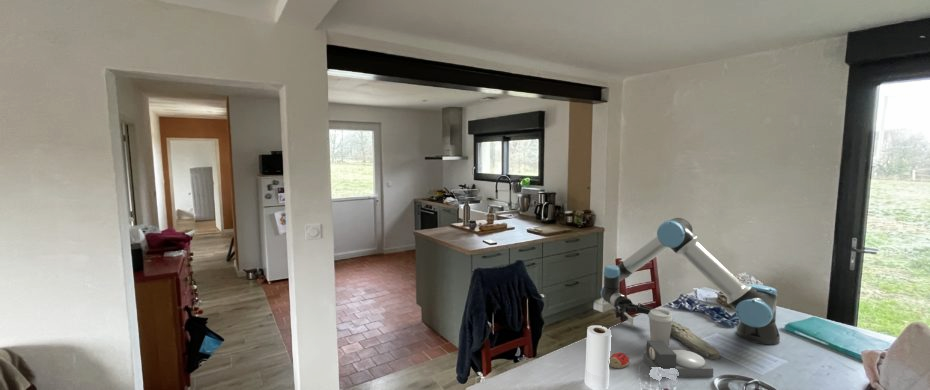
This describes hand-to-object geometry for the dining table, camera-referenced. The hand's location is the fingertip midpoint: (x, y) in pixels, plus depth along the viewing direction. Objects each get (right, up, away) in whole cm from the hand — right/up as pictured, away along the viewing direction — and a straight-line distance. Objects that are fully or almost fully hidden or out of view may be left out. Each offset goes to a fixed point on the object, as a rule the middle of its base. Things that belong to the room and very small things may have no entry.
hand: (647, 320), depth 169 cm
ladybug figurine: (-21, -11, -20) cm, 31 cm away
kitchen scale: (0, -10, -24) cm, 26 cm away
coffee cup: (+1, -9, -8) cm, 12 cm away
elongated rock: (+16, -8, -2) cm, 18 cm away
